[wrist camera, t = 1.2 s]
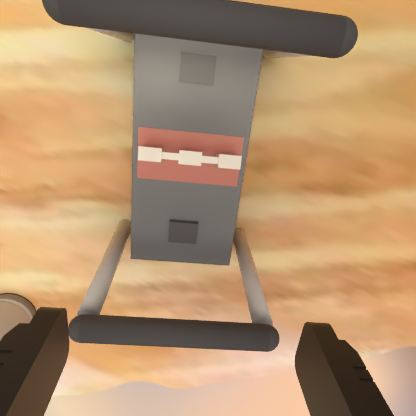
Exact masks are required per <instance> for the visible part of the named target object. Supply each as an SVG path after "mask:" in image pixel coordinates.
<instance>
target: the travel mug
mask: <svg viewBox="0 0 416 416" xmlns="http://www.w3.org/2000/svg"><path fill="white" fill-rule="evenodd" d="M35 313H36V312H35V309H34V307H33V305H32V304H31V303H30V302H29V301H27V300H26V299H25V298H23V297H21V296H18V295H14V294H2V295H0V340H1V339H2V337H3V336H4V335H5V334H6V333H7V332H9V331H10V330H11V329H13V328H14V327H15V326H16V325H18V324H19V323H30V321H31V320H32V318H33V317H34V315H35Z"/></svg>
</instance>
